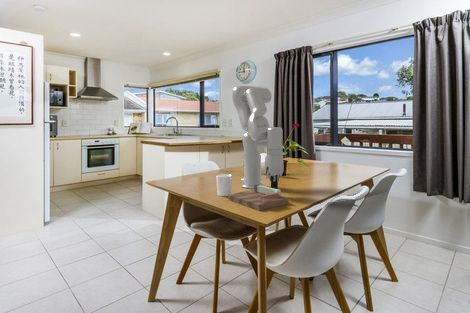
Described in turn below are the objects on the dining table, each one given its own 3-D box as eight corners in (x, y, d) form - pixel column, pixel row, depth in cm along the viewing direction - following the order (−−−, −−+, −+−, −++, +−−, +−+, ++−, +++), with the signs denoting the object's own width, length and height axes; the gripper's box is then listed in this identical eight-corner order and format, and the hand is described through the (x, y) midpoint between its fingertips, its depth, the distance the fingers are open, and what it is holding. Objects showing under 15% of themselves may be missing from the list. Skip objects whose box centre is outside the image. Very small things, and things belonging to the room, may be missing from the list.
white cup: (225, 192, 151) (225, 173, 150) (235, 195, 145) (235, 175, 144) (213, 194, 146) (213, 175, 145) (222, 197, 140) (222, 177, 139)
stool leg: (281, 196, 130) (281, 189, 130) (277, 197, 129) (277, 190, 128) (258, 190, 143) (258, 184, 143) (254, 191, 141) (254, 184, 141)
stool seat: (228, 199, 136) (228, 188, 136) (256, 194, 147) (256, 183, 146) (258, 210, 119) (258, 197, 118) (288, 203, 129) (288, 191, 129)
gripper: (278, 150, 148) (278, 185, 150) (258, 152, 139) (258, 189, 141) (290, 151, 143) (289, 187, 145) (270, 154, 133) (269, 192, 135)
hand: (274, 188), depth 143 cm, fingers closed
